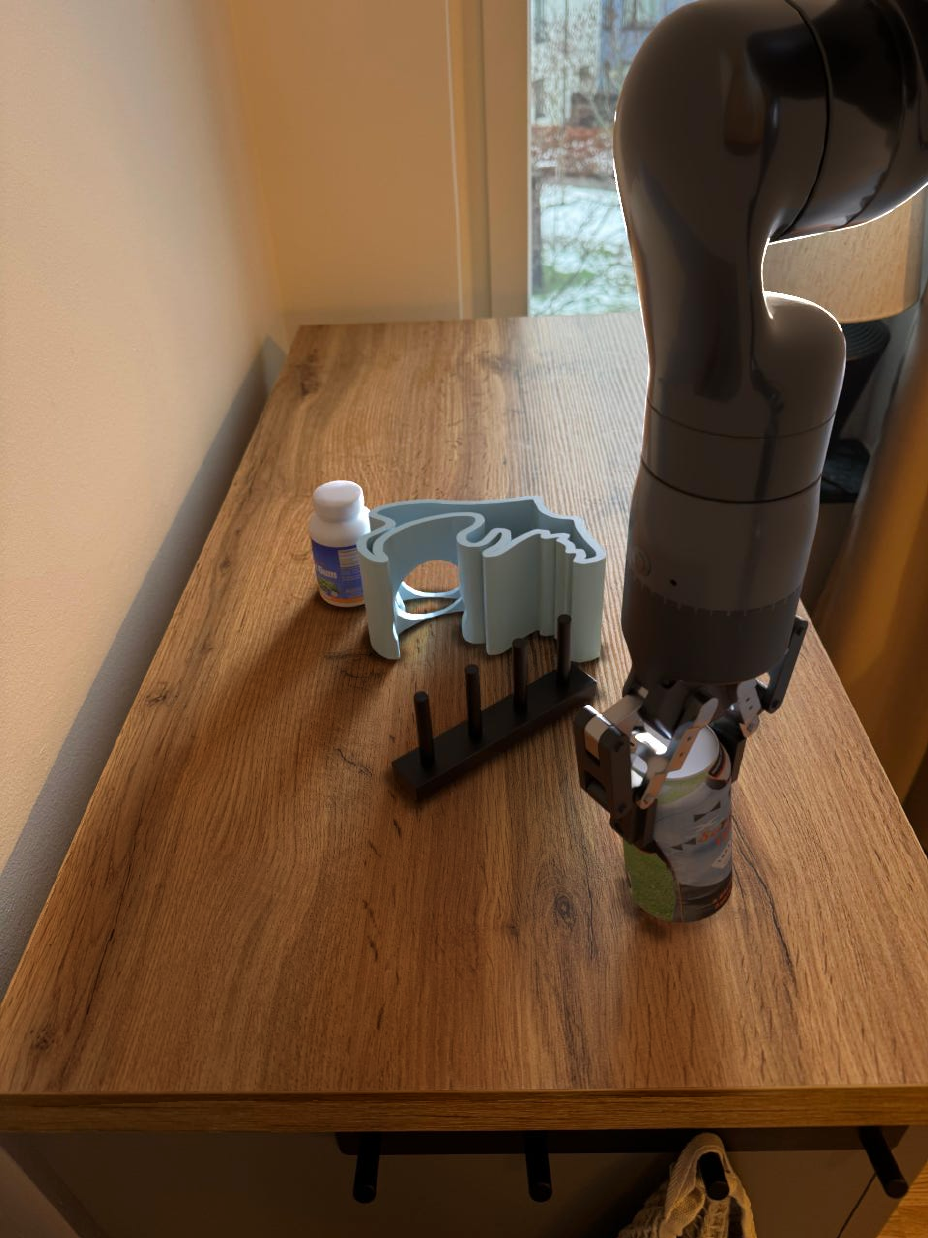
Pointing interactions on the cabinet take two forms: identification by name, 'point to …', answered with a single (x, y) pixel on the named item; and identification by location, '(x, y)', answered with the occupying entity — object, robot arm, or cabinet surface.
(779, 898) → the cabinet surface
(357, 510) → the pill bottle
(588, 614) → the squiggly pen holder
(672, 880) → the beverage can
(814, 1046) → the cabinet surface
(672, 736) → the robot arm
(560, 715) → the rack
